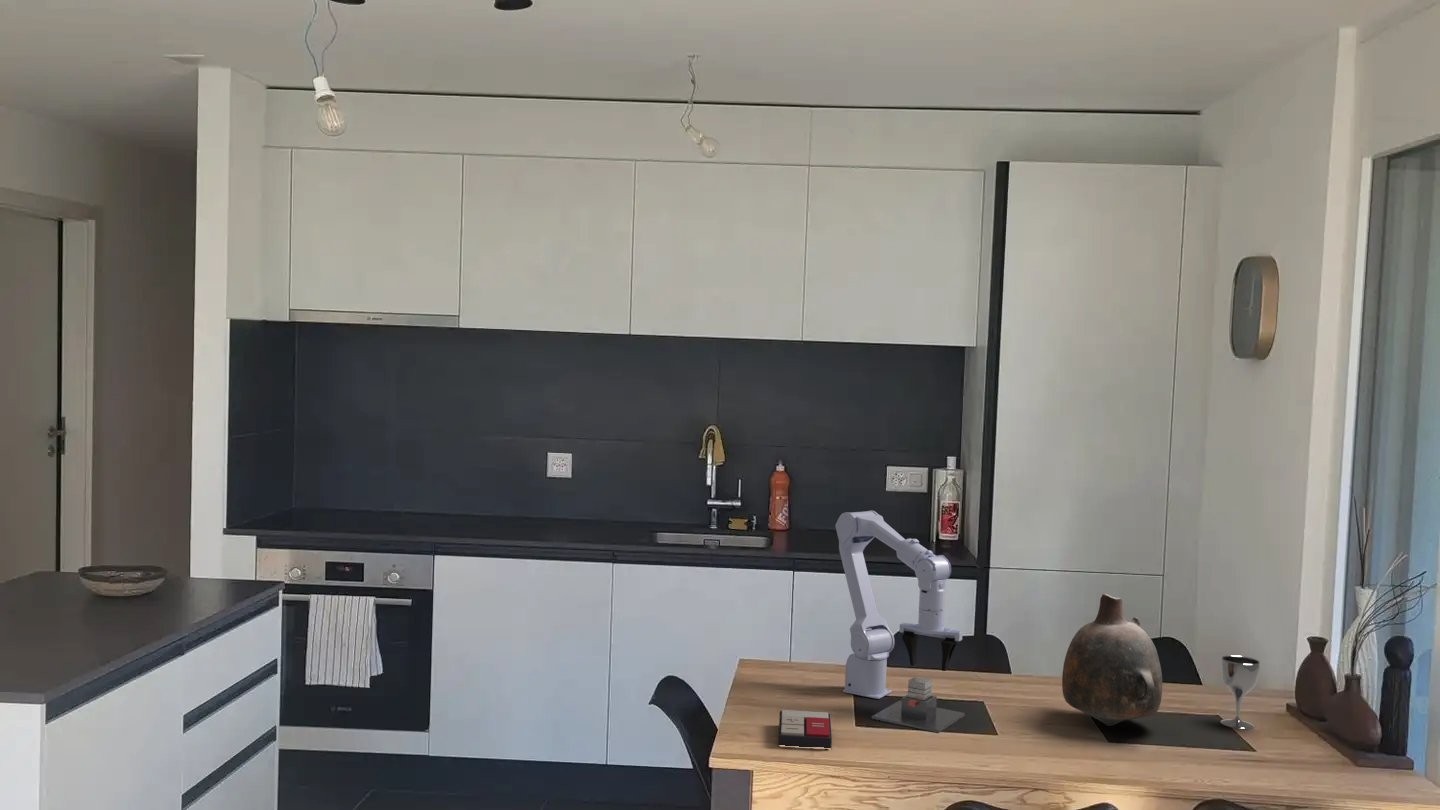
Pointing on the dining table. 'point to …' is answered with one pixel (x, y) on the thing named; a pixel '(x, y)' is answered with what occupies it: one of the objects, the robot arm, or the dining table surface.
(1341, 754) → the dining table surface
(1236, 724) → the silver goblet
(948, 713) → the stand
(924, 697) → the column
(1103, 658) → the jug
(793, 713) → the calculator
